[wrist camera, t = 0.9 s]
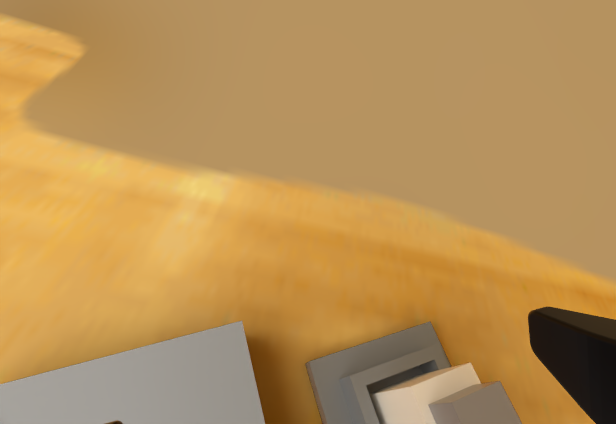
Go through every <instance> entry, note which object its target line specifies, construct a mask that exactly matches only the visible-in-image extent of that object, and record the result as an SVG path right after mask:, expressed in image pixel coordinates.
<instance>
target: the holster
mask: <svg viewBox="0 0 616 424" xmlns="http://www.w3.org/2000/svg"><path fill="white" fill-rule="evenodd" d="M450 367H451V365H450V363H449V360H448V358H447V356H446V354H445V352H444V350H443V348H442V345H441V343H440V341H439V339H438V337H437V335H436V333H435V331H434V328H433V326H432V324H431V322H427V323H424V324H421V325H418V326H415V327H412V328H409V329H406V330H403V331H400V332H397V333H394V334H391V335H388V336H385V337H382V338H379V339H376V340H373V341H370V342H367V343H364V344H361V345H358V346H354V347H351V348H348V349H345V350H342V351H339V352H336V353H333V354H330V355H327V356H324V357H321V358H318V359H315V360H312V361H309V362H307V363H306V368H307V371H308V375H309V378H310V381H311V385H312V388H313V392H314V395H315V399H316V402H317V405H318V409H319V412H320V416H321V419H322V423H323V424H380V423H379V420H378V418H377V415H376V412H375V409H374V406H373V404H372V401H371V398H370V395H369V394H371V393H373V392H376V391H378V390H381V389H384V388H386V387H389V386H391V385H394V384H396V383H399V382H401V381H404V380H406V379H409V378H411V377H414V376H417V375H421V374H425V373H429V372H433V371H437V370H441V369H445V368H450Z"/></svg>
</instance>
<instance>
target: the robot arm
mask: <svg viewBox="0 0 616 424" xmlns="http://www.w3.org/2000/svg"><path fill="white" fill-rule="evenodd" d="M528 323H529V334H530V344H531V347H532V350H533V352H534V353H535V355H536V356H537V357H538V359H539V360H540V361H541V362H542V363H543V364H544V366H545V367H546V368H547V369H548V370H549V371H550V372H551V374H552V375H553V376H554V377H555V378H556V379H557V380H558V382H559V383H560V384H561V385H562V386H563V387H564V389H565V390H566V391H567V392H568V393H569V394H570V395H571V397H572V398H573V399H574V400H575V401H576V402H577V404H578V405H579V406H580V407H581V408H582V409H583V410H584V411H585V412H586V414H587V415H588V416H589V417H590V418H591V419H592V420H593V421H594V422H595V423H596V424H616V320H614V319H609V318H604V317H599V316H594V315H588V314H583V313H578V312H573V311H568V310H563V309H558V308H553V307H543V308H540V309H536V310H532V311H531V312H530V313H529V315H528ZM105 424H123V423H122V422H121V421H118V420H116V421H112V422H109V423H105Z"/></svg>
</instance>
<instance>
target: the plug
mask: <svg viewBox="0 0 616 424" xmlns="http://www.w3.org/2000/svg"><path fill="white" fill-rule="evenodd" d="M369 395H370V398H371V401H372V404H373V406H374V409H375V412H376V415H377V418H378V420H379V423H380V424H522V423H521V421H520V419H519V417H518V415H517V413H516V411H515V409H514V407H513V405H512V403H511V401H510V399H509V397H508V396H507V394H506V392H505V390H504V388H503V386H502V384H501V382H500V381H495V382H488V383H482V384H481V382H480V380H479V378H478V376H477V374H476V372H475V370H474V368H473V366H472V364H471V362H470V363H466V364H462V365H458V366H454V367H450V368H445V369H441V370H437V371H433V372H429V373H425V374H421V375H417V376H414V377H411V378H409V379H406V380H404V381H401V382H399V383H396V384H394V385H391V386H389V387H386V388H384V389H381V390H378V391H376V392H373V393H371V394H369Z"/></svg>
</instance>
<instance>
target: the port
mask: <svg viewBox="0 0 616 424" xmlns="http://www.w3.org/2000/svg"><path fill="white" fill-rule="evenodd" d="M116 420H118V421H121V422H122V423H123V424H265V421H264V416H263V412H262V407H261V403H260V398H259V394H258V390H257V385H256V381H255V376H254V372H253V367H252V363H251V359H250V354H249V350H248V345H247V341H246V336H245V332H244V328H243V323H242V321H239V322H235V323H231V324H228V325H224V326H220V327H216V328H212V329H209V330H205V331H201V332H197V333H193V334H190V335H186V336H182V337H178V338H174V339H171V340H167V341H163V342H159V343H155V344H152V345H148V346H144V347H140V348H136V349H133V350H129V351H125V352H121V353H117V354H114V355H110V356H106V357H102V358H98V359H95V360H91V361H87V362H83V363H79V364H76V365H72V366H68V367H64V368H61V369H57V370H53V371H49V372H45V373H42V374H38V375H34V376H30V377H26V378H23V379H19V380H15V381H11V382H7V383H4V384H0V424H105V423H109V422H112V421H116Z"/></svg>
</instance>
